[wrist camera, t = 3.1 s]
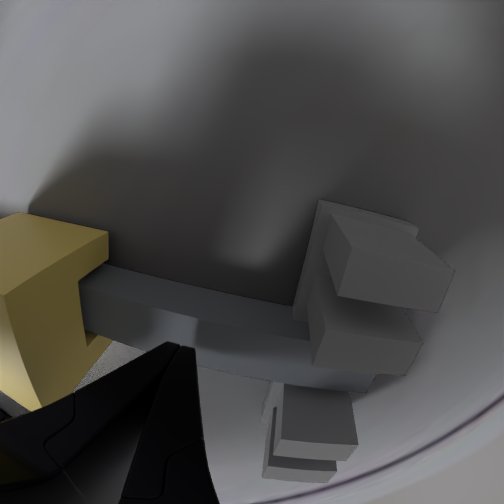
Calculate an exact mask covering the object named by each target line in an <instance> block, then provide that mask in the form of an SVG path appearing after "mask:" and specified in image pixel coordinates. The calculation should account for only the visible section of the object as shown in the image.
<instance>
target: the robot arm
mask: <svg viewBox="0 0 504 504" xmlns="http://www.w3.org/2000/svg"><path fill="white" fill-rule="evenodd" d="M0 504H220V503H219V500H218V497H217V494H216V492H215V489H214V485H213V482H212V479H211V475H210V472H209V467H208V462H207V457H206V450H205V442H204V435H203V427H202V417H201V408H200V398H199V387H198V375H197V362H196V350H195V348H193V347H189V346H185V345H182V346H180V344H177V343H174V342H170V341H166V342H164V343H162V344H160V345H159V346H157V347H155V348H153V349H152V350H150V351H148V352H146V353H144V354H143V355H141V356H139V357H137V358H136V359H134V360H132V361H130V362H128V363H127V364H125V365H123V366H121V367H119V368H118V369H116V370H114V371H112V372H110V373H108V374H107V375H105V376H103V377H101V378H99V379H97V380H95V381H94V382H92V383H90V384H88V385H86V386H84V387H82V388H80V389H79V390H77V391H75V393H71V394H69V395H67V396H65V397H63V398H61V399H59V400H57V401H55V402H53V403H51V404H49V405H46V406H44V407H41V408H39V409H36V410H34V411H31V412H29V413H26V414H23V415H20V416H17V417H14V418H10V417H9V416H7V415H6V414H4V413H3V412H2V411H1V410H0Z"/></svg>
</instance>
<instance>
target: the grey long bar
mask: <svg viewBox="0 0 504 504" xmlns="http://www.w3.org/2000/svg"><path fill="white" fill-rule="evenodd" d="M78 287H79V296H80V305H81V312H82V319H83V326H84V330H87V331H90V332H92V333H95V334H98V335H100V336H103V337H106V338H109V339H111V340H114V341H117V342H120V343H123V344H126V345H129V346H132V347H135V348H138V349H141V350H145V351H150V350H152V349H153V348H155V347H157V346H159V345H160V344H162V343H164V342H166V341H170V342H174V343H177V344H180V346H182V345H185V346H189V347H193V348H195V350H196V362H197V365H198V366H202V367H206V368H210V369H214V370H218V371H223V372H227V373H232V374H237V375H241V376H246V377H251V378H256V379H262V380H267V381H273V382H279V383H285V384H291V385H298V386H305V387H312V388H320V389H328V390H337V391H347V392H358V393H367V391H368V389H369V387H370V386H371V384H372V382H373V380H374V378H375V377H376V375H377V374H375V373H365V372H355V371H346V370H338V369H330V368H323V367H316V366H312V356H311V343H310V332H309V322H305V321H299V320H293V314H292V306H287V305H282V304H277V303H272V302H267V301H262V300H257V299H252V298H247V297H242V296H238V295H233V294H228V293H224V292H219V291H215V290H210V289H206V288H201V287H197V286H192V285H188V284H184V283H179V282H175V281H171V280H167V279H163V278H158V277H154V276H150V275H146V274H142V273H138V272H134V271H130V270H127V269H123V268H119V267H115V266H111V265H107V264H104V263H102V264H101V265H99V266H98V267H96V268H95V269H94V270H92V271H91V272H89V273H88V274H87V275H85V276H84V277H83V278H81V279H80V280H79V281H78Z"/></svg>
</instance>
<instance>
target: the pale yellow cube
mask: <svg viewBox="0 0 504 504" xmlns="http://www.w3.org/2000/svg"><path fill="white" fill-rule="evenodd" d="M108 238H109V232H108V231H103V230H99V229H94V228H89V227H85V226H80V225H76V224H71V223H67V222H62V221H57V220H53V219H48V218H44V217H39V216H35V215H30V214H26V213H22V212H17V213H15V214H12V215H9V216H7V217H4V218H2V219H0V390H1V391H2V392H3V393H5V394H6V395H8V396H9V397H10V398H12V399H13V400H15V401H16V402H17V403H19V404H20V405H22V406H23V407H25V408H26V409H28V410H30V411H34V410H36V409H39V408H41V407H44V406H46V405H49V404H51V403H53V402H55V401H57V400H59V399H61V398H63V397H65V396H67V395H69V394H71V393H72V392H73V390H74V389H75V388H76V386H77V385H78V384H79V383H80V381H81V380H82V379H83V377H84V376H85V375H86V374H87V372H88V371H89V370H90V369H91V367H92V366H93V365H94V363H95V362H96V361H97V360H98V358H99V357H100V356H101V355H102V354H103V352H104V351H105V350H106V349H107V347H108V346H109V345H110V344H111V342H112V341H113V340H111V339H109V338H106V337H103V336H100V335H98V334H95V333H92V332H90V331H87V330H84V326H83V319H82V312H81V305H80V296H79V287H78V281H79V280H80V279H81V278H83V277H84V276H85V275H87V274H88V273H89V272H91V271H92V270H94V269H95V268H96V267H98V266H99V265H101V264H102V263H103V262H105V261H106V260H108V259H109V247H108Z"/></svg>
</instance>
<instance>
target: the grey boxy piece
mask: <svg viewBox="0 0 504 504" xmlns="http://www.w3.org/2000/svg"><path fill="white" fill-rule="evenodd" d="M418 231H419V228H418V227H416V226H415V225H413V224H412V223H410V222H408V221H405V220H401V219H397V218H394V217H390V216H386V215H382V214H379V213H375V212H371V211H367V210H363V209H359V208H355V207H350V206H346V205H342V204H338V203H333V202H329V201H325V200H320V199H319V201H318V205H317V210H316V214H315V219H314V223H313V227H312V231H311V236H310V240H309V244H308V248H307V252H306V256H305V260H304V264H303V268H302V272H301V276H300V280H299V284H298V288H297V291H296V295H295V299H294V303H293V306H292V314H293V320H299V321H305V322H309V332H310V343H311V356H312V366H316V367H323V368H330V369H338V370H346V371H355V372H365V373H375V374H387V375H400V376H405V375H406V373H407V372H408V370H409V368H410V366H411V365H412V363H413V361H414V359H415V357H416V355H417V354H418V352H419V350H420V348H421V346H422V344H423V342H422V341H421V339H420V337H419V335H418V334H417V332H416V330H415V329H414V327H413V325H412V324H411V322H410V320H409V319H408V317H407V315H406V314H405V312H404V310H403V309H402V307H403V308H409V309H415V310H421V311H428V312H434V313H438V311H439V309H440V306H441V304H442V302H443V299H444V297H445V295H446V292H447V290H448V287H449V285H450V282H451V280H452V277H453V275H454V272H455V271H454V270H453V269H452V268H451V267H450V266H449V265H448V264H446V263H445V262H444V261H443V260H442V259H441V258H439V257H438V256H437V255H436V254H435V253H433V252H432V251H431V250H430V249H428V248H427V247H426V246H425V245H424V244H422V243H421V242H420V241H419V240H417V239H416V238H417V234H418ZM351 393H352V392H347V391H337V390H328V389H320V388H312V387H305V386H298V385H291V384H285V383H279V382H273V381H271V382H270V385H269V388H268V391H267V394H266V398H265V401H264V404H263V407H262V411H261V419H260V423H262V424H268V427H267V436H266V445H265V454H264V463H263V471H262V478H269V479H277V480H287V481H298V482H314V483H327V482H328V481H329V480H330V479H331V478H332V476H333V475H334V474H335V473H336V472H337V468H336V461H346V460H347V459H348V458H349V456H350V455H351V454H352V453H353V451H354V450H355V449H356V447H357V446H358V439H357V433H356V427H355V421H354V415H353V409H352V403H351V398H350V394H351Z"/></svg>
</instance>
